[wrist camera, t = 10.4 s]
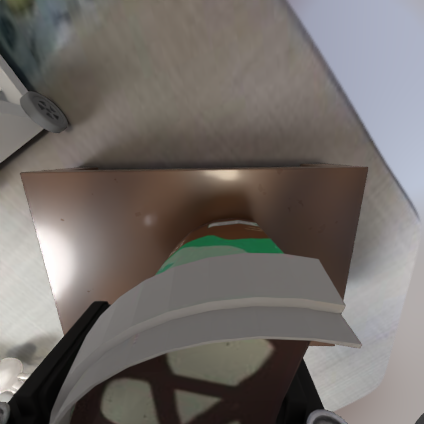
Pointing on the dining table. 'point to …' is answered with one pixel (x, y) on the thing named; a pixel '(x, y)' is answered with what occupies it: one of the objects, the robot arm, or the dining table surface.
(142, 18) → the dining table surface
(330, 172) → the shelf
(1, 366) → the tangled rod sculpture
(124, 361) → the food container
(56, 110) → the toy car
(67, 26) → the dining table surface
